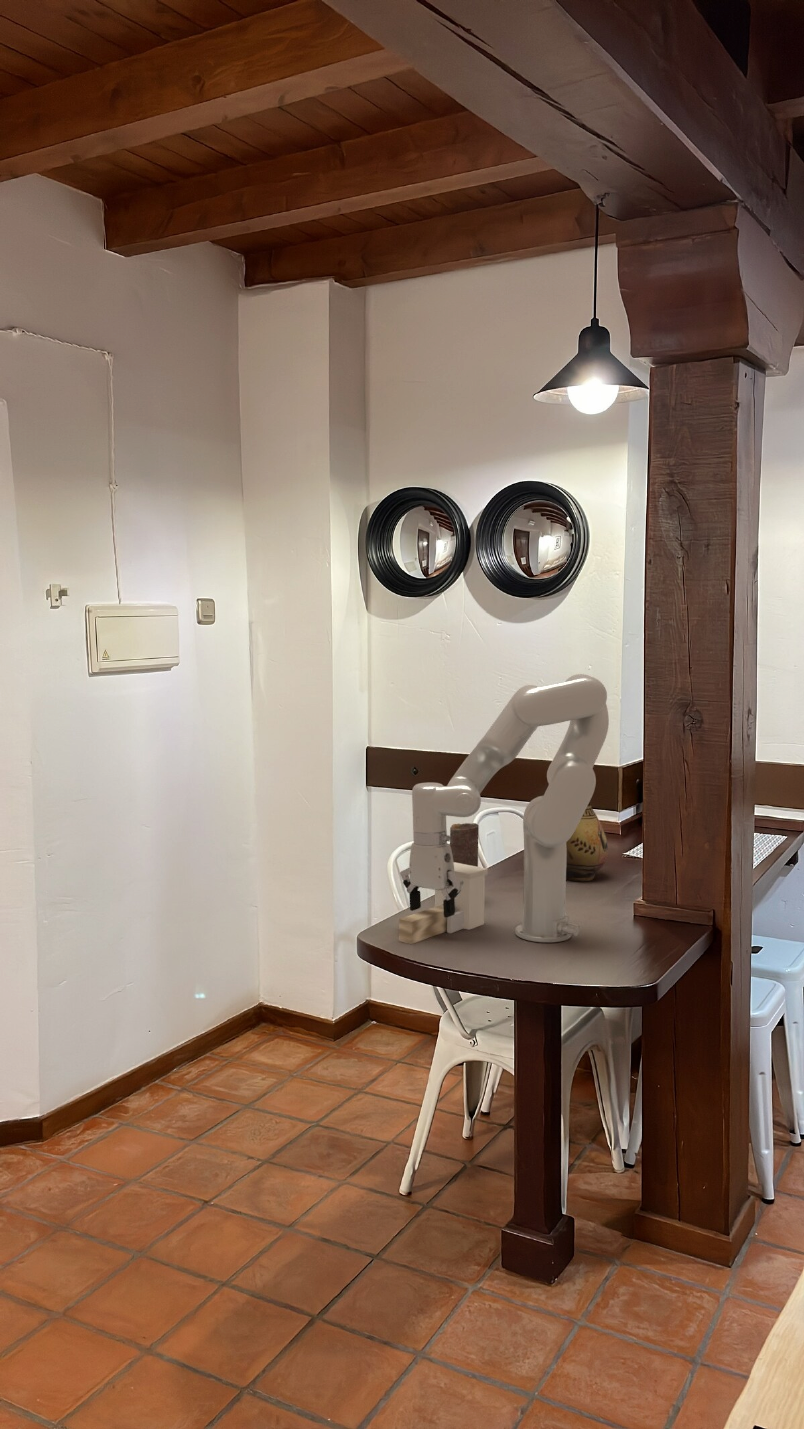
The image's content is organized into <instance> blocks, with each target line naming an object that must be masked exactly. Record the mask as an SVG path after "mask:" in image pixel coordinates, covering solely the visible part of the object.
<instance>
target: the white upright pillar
mask: <svg viewBox="0 0 804 1429" xmlns="http://www.w3.org/2000/svg"><path fill="white" fill-rule="evenodd" d="M454 871H455V875H456V876H458V877H459V878H460V879H461V880H463V882H464V884H463V886H462V888H461V892H460V893H459V894H458V895H457V897H456V898H455V913H454V915H452V916H450V917H447V931H446V932H447V933H448V934H453V933H455V932H458V931H460V930H473V929H475V928H478V927H480V926H483V925H484V924H485V892H486V889H485V887H486V884H485V882H486V875H489V868H487V867H480V866H478V867H476V866H471V865H466V864H461V863H455V862H454ZM454 886H455V885H454ZM454 886H452V887H453V889H454ZM447 891H448V890H447ZM448 893H449V891H448ZM445 899H446V898H445V897H444V895H443V894H442V892H441V890H434V907H436V906H439V905H442V904H443V901H444V900H445Z"/></svg>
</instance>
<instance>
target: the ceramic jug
mask: <svg viewBox="0 0 804 1429" xmlns="http://www.w3.org/2000/svg"><path fill="white" fill-rule="evenodd" d="M607 839H608V838H607V835H606V832H605V829H604V827H603V825H602V823H601V821H600V819H599V817H598V815H597V814H596V812H595V811H594V809H593V808H592V805H591V803H590V802H589V804H588V806H587V808H586V810H585V812H584V814H583V816H582V818H581V820H580V822H579V824H578V825H577V827H576V829H575V831H574V833H573V835H572V836H571V838H570V839H569V840H568V841H567V842H566V851H567V861H566V880H568V881H570V882H583V881H584V882H585V881H586V882H589V881H592V880H594V878H595V876H596V874H597V873H598V871H600V869H601V868H603V866H604V865H605V863H606V860H607V857H608V852H609V850H608V849H609V848H608V840H607Z"/></svg>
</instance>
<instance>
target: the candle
mask: <svg viewBox="0 0 804 1429" xmlns="http://www.w3.org/2000/svg"><path fill="white" fill-rule="evenodd" d="M479 828H480V826H479V824H478V823H476V822H474V823H469V822H468V823H467V822H465V823H464V822H463V823H453V824H452V825H451V826H450V828H449V833H450V834H449V836H450V840H449V844H450V847H451V851H452V855H453V862H455V863H461V864H466V865H471V866H476V867H479Z"/></svg>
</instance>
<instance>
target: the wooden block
mask: <svg viewBox="0 0 804 1429" xmlns="http://www.w3.org/2000/svg"><path fill="white" fill-rule="evenodd" d="M445 932H447V918H446V917H444V907H443V904H442V905H439V906H436V907H435V906H433V907H431V908H428V909H425V910H421V911H419V912H415V913H413V914H410V915H406V916H404V917H401V918H399V919H398V942H401V943H404V944H409V945H413V944H415V943H418V942H421V941H424V940H426V939H429V938H432V937H435V936H437V935H441V934H443V933H445Z"/></svg>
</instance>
